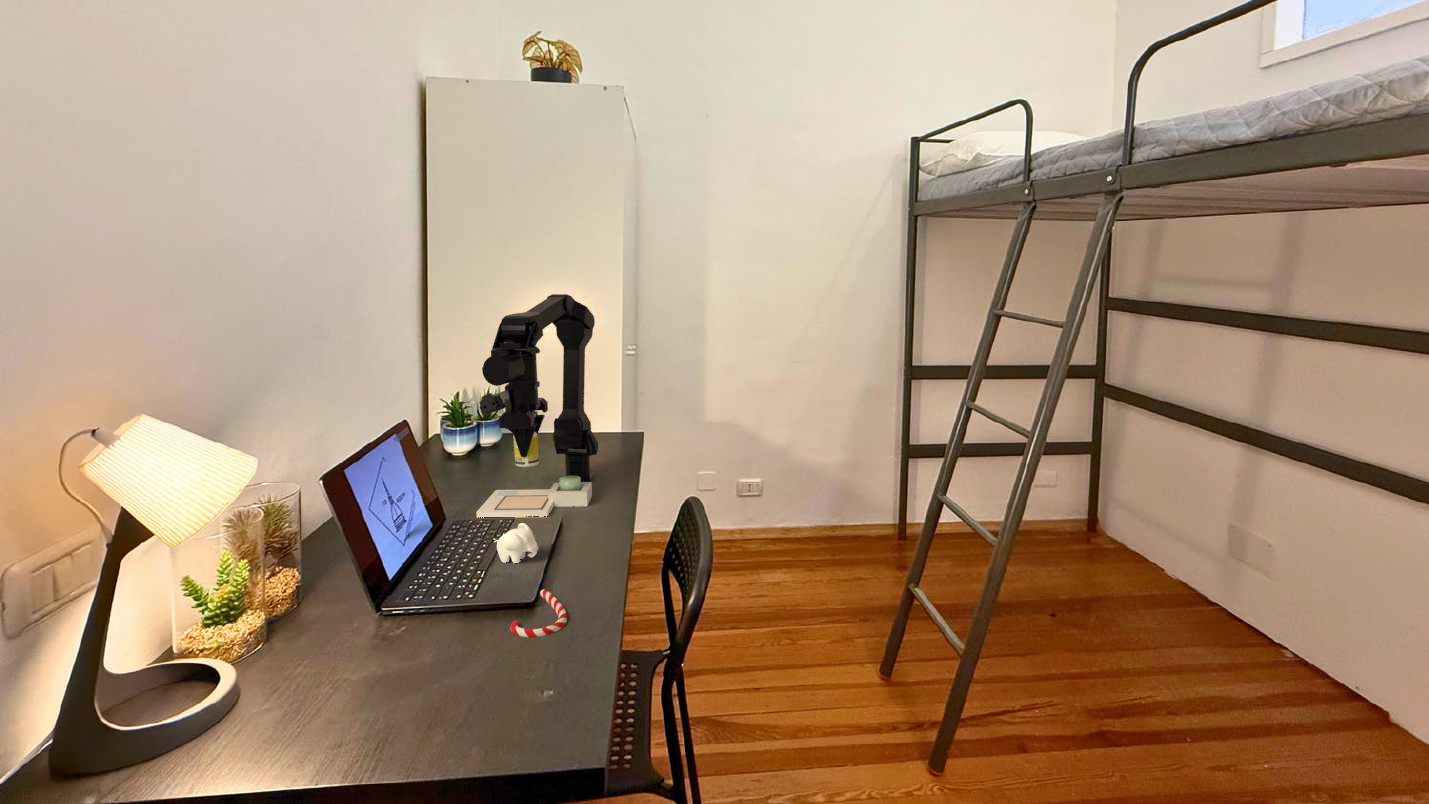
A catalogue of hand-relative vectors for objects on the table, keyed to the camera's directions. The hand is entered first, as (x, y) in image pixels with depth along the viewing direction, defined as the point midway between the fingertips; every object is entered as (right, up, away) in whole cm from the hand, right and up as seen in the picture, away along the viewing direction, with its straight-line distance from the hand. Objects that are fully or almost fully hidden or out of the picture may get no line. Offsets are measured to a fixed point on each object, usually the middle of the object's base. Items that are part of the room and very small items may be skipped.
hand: (526, 453), depth 166 cm
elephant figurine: (+5, -17, -28) cm, 33 cm away
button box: (+8, -11, +7) cm, 15 cm away
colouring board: (-2, -11, +4) cm, 12 cm away
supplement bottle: (0, -2, 0) cm, 2 cm away
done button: (+8, -8, +7) cm, 13 cm away
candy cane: (+13, -21, -48) cm, 54 cm away
